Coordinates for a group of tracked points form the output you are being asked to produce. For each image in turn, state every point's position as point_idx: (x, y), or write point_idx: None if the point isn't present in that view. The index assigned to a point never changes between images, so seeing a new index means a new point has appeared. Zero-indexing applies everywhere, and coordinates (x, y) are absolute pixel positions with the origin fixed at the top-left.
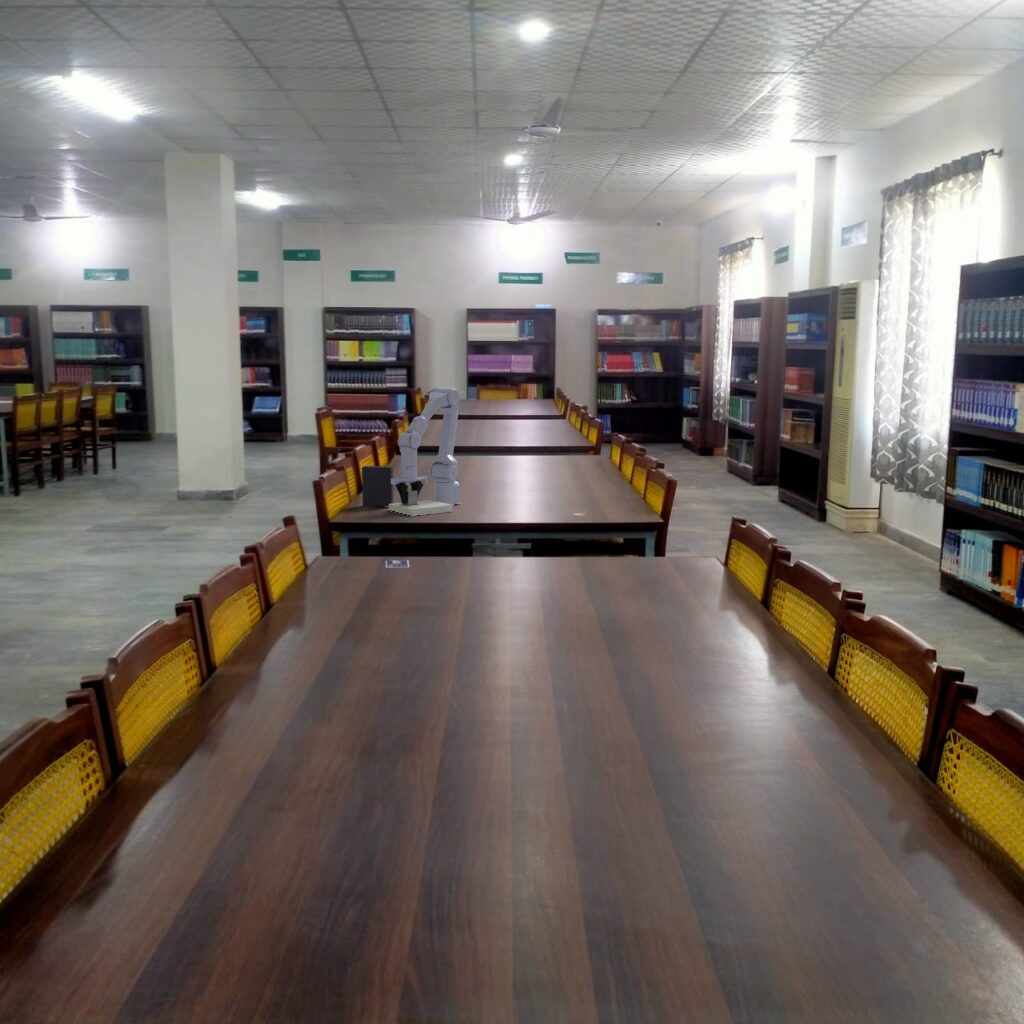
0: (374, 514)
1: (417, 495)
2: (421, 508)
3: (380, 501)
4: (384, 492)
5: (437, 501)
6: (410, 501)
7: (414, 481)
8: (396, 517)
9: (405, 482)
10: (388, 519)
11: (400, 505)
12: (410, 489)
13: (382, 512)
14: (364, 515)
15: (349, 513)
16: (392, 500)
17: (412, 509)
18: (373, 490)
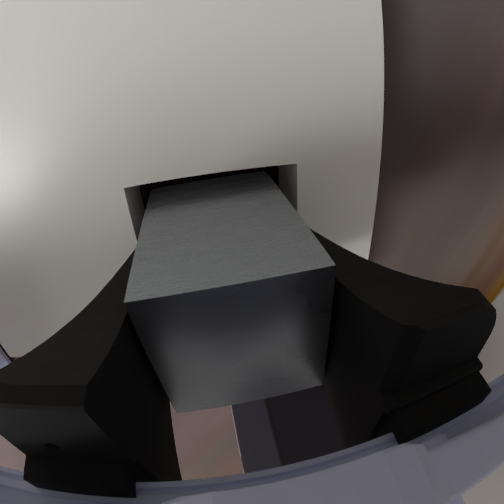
0: (465, 200)
1: (137, 250)
2: None
3: (308, 403)
4: (307, 445)
5: None
6: (252, 198)
7: (155, 499)
8: (443, 24)
9: (373, 453)
10: (493, 16)
11: (339, 209)
12: (203, 395)
13: (401, 240)
14: (500, 199)
15: (491, 273)
16: (245, 406)
17: None
18: None
